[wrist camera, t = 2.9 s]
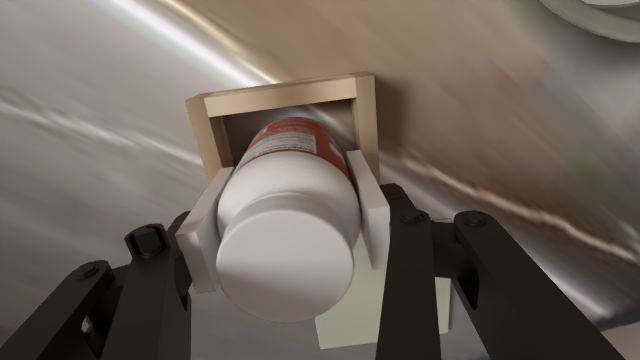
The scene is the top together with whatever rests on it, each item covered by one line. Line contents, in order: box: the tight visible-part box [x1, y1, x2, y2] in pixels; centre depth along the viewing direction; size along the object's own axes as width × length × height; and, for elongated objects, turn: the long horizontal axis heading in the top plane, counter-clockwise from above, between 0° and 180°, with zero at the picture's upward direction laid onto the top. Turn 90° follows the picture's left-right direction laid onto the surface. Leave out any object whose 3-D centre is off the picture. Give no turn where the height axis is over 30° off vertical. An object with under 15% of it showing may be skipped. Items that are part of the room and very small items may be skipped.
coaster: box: [315, 219, 453, 349], centre depth 25 cm, size 11×11×1 cm
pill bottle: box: [216, 117, 361, 323], centre depth 16 cm, size 6×6×11 cm
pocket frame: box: [185, 72, 380, 239], centre depth 19 cm, size 10×10×2 cm
